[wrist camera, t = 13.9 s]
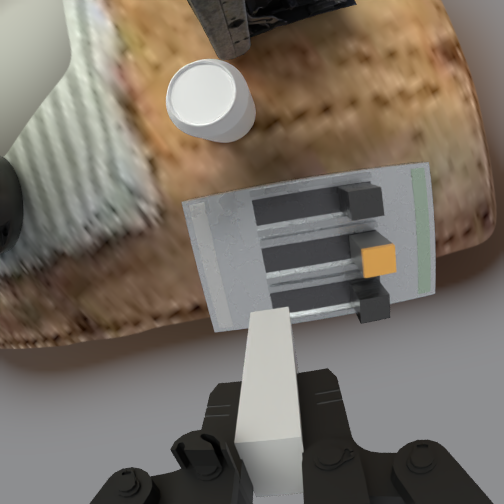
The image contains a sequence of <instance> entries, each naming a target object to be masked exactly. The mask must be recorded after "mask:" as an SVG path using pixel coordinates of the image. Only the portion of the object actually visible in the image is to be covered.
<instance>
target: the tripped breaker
mask: <svg viewBox="0 0 504 504" xmlns="http://www.w3.org/2000/svg"><path fill="white" fill-rule="evenodd" d="M349 242H350V251H351V259H352V260H353V262H354V263H355V265H356V266H357V268H358V269H359V270H360V272H361V273H362V275H363V276H364V278H369V277H374V276H380V275H385V274H390V273H395V272H396V254H395V245H394V244H393V243H392V242H390V241H389V240H388V239H386V238H385V237H384V236H383V235H381V234H380V233H379V232H378V231H371V232H366V233H360V234H354V235H349Z"/></svg>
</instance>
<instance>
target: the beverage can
mask: <svg viewBox="0 0 504 504" xmlns="http://www.w3.org/2000/svg"><path fill="white" fill-rule="evenodd" d="M166 107H167V111H168V114H169V117H170V119H171V120H172V122H173V123H174V124H175V125H176V126H177V127H178V128H179V129H180V130H181V131H183V132H184V133H186V134H188V135H191V136H194V137H199V138H203V139H207V140H211V141H215V142H221V143H228V142H233V141H236V140H238V139H240V138H242V137H243V136H244V135H246V134H247V133H248V132H249V130H250V129H251V127H252V126H253V124H254V121H255V116H256V109H255V104H254V101H253V98H252V96H251V93H250V91H249V88H248V85H247V83H246V81H245V79H244V77H243V75H242V74H241V73H240V71H239V70H238V69H236V68H235V67H234V66H233V65H231V64H229V63H227V62H225V61H222V60H217V59H203V60H198V61H195V62H192V63H189V64H187V65H186V66H184V67H182V68H181V69H180V70H179V71H178V72H177V73H176V74H175V75H174V76H173V78H172V79H171V81H170V84H169V86H168V90H167V95H166Z"/></svg>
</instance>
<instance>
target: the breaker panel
mask: <svg viewBox="0 0 504 504" xmlns="http://www.w3.org/2000/svg"><path fill="white" fill-rule="evenodd" d="M182 206H183V210H184V214H185V219H186V223H187V227H188V231H189V236H190V240H191V244H192V248H193V252H194V256H195V260H196V264H197V268H198V272H199V276H200V280H201V283H202V287H203V291H204V295H205V298H206V302H207V306H208V310H209V313H210V317H211V320H212V324H213V328H214V331H215V332H222V331H230V330H239V329H246V328H249V321H250V313H251V312H257V311H263V310H270V309H276V308H283V307H289V313H290V319H291V324H295V323H301V322H307V321H313V320H319V319H325V318H331V317H336V316H342V315H346V314H352V313H356V314H357V316H358V319H359V321H360V323H367V322H372V321H377V320H381V319H386V318H390V304H393V303H397V302H401V301H406V300H410V299H415V298H419V297H424V296H428V295H432V294H435V227H434V210H433V197H432V186H431V177H430V168H429V162H413V163H404V164H395V165H387V166H379V167H371V168H364V169H356V170H349V171H342V172H335V173H328V174H322V175H315V176H309V177H303V178H297V179H291V180H285V181H279V182H274V183H268V184H263V185H257V186H252V187H246V188H241V189H236V190H231V191H226V192H221V193H216V194H211V195H206V196H202V197H197V198H192V199H188V200H185V201H183V202H182ZM371 231H378V232H379V233H380V234H381V235H383V236H384V237H385V238H386V239H388V240H389V241H390V242H392V243H393V244H394V245H395V254H396V272H395V273H390V274H385V275H380V276H374V277H369V278H364V276H363V275H362V273H361V272H360V270H359V269H358V268H357V266H356V265H355V263H354V262H353V260H352V259H351V251H350V242H349V235H354V234H360V233H366V232H371Z"/></svg>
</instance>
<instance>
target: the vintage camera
mask: <svg viewBox="0 0 504 504" xmlns="http://www.w3.org/2000/svg"><path fill="white" fill-rule="evenodd" d="M187 1H188V3H189V5H190V6H191V8H192V10H193V11H194V13H195V15H196V16H197V18H198V20H199V21H200V23H201V25H202V27H203V29H204V31H205V33H206V35H207V37H208V38H209V40H210V42H211V44H212V46H213V48H214V50H215V52H216V54H217V56H218V57H219V58H220V59H221V60H229V59H234V58H236V57H238V56H240V55H242V54H244V53H245V52H247V51H248V50H249V49H250V46H251V42H250V38H251V37H253V36H255V35H258V34H261V33H264V32H267V31H269V30H272V29H274V28H275V27H278V26H282V25H287V24H290V23H293V22H296V21H299V20H302V19H306V18H309V17H312V16H315V15H319V14H322V13H326V12H330V11H333V10H337V9H341V8H345V7H349V6H353V5H357V4H356V2H355V0H187Z"/></svg>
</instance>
